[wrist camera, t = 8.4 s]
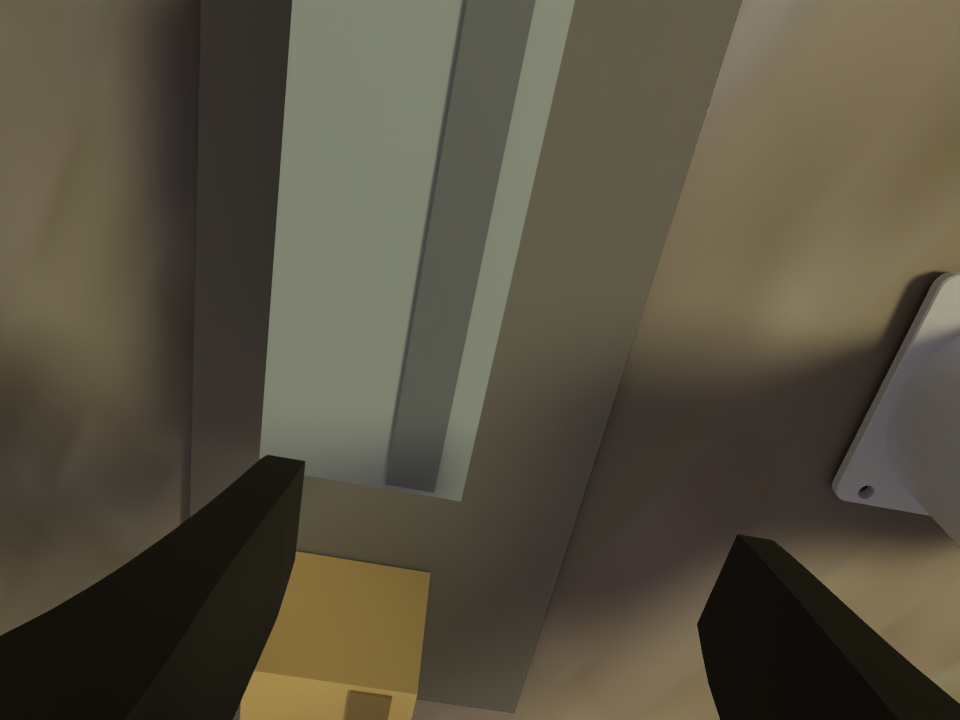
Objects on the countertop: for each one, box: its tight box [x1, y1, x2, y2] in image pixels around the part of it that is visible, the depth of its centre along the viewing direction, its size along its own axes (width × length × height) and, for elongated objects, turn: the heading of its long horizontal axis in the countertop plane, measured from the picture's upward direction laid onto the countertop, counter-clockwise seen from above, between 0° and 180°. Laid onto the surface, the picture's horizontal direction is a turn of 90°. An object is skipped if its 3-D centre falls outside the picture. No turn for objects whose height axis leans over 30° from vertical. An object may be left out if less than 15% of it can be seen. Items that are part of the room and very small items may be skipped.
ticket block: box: [259, 0, 575, 502], centre depth 17 cm, size 5×12×5 cm, turn 169°
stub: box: [240, 551, 430, 720], centre depth 23 cm, size 5×6×5 cm
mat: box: [190, 0, 742, 713], centre depth 22 cm, size 13×26×1 cm, turn 169°
